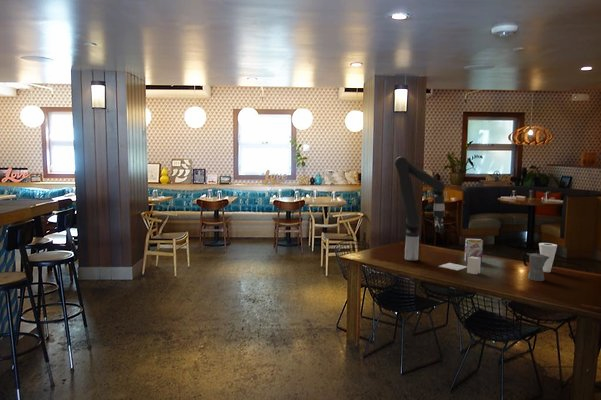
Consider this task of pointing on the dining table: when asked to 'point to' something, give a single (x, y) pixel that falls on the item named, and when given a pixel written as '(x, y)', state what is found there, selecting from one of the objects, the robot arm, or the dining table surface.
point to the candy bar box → (473, 248)
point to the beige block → (473, 265)
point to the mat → (453, 266)
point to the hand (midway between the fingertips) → (439, 232)
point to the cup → (548, 254)
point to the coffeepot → (535, 265)
